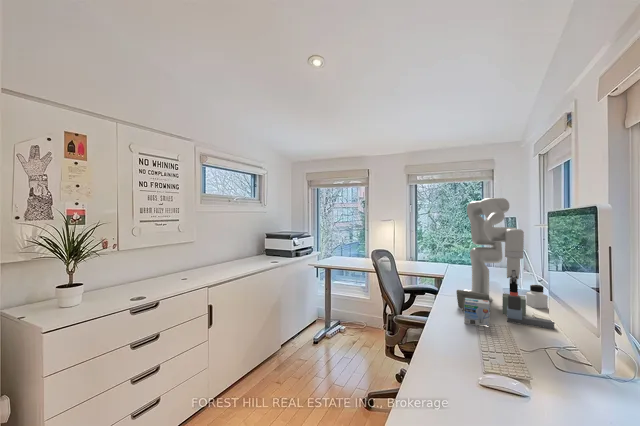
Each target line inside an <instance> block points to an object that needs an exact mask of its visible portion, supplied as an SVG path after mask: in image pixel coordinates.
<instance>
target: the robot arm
mask: <svg viewBox="0 0 640 426" xmlns="http://www.w3.org/2000/svg"><path fill="white" fill-rule="evenodd" d="M509 209H510V202H509V200H507V199H506V198H504V197H487V198H484V199H482V200H476V201H471V202H469V203H468V204H467V206H466V214H467V217H468V220H469V222H470V233H471V234H470V235H471V241H472V244H474V245H477V247H472V248H471V249H470V251H469V256H470V257H469V258H470V262H471V289H469V290H468V289H463V290H464V291H471V292H477V293H483V294H488V295H489V299H490V302H492V301H493V297H492V296H490V269H489V267H488V266H487V265H486V264H499V263H502V261H503V245H502V243H504V258H505V259H507V260H506V278H507V279H509V293H510V292H515V293H517V292H518V293H519V291H518V290H519V286H518V285H519V284H518V280H519V279H520V272H521V260H522V259H524V245H525V239H524V238H525V237H524V236H525V235H524V233H525V232H524V230H522V229H519V228H516V227H512V226H511V227H505V226H504V227H503V226H497V227H495V225H498V224H500V223H502V222H503V221H504V219H505V218H506V217H505V213H508V211H509ZM481 215H482V216H483V215H484V216H485V219H484V217H482V216H481ZM487 246H490V247H487Z"/></svg>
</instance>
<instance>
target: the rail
mask: <svg viewBox="0 0 640 426" xmlns="http://www.w3.org/2000/svg"><path fill="white" fill-rule="evenodd" d="M551 320H552V319H547V318H542V317H541V318H540V317H533V316H527V315H526V316H522V320H519V319H512V318H507V317H506V322H507V323H512V324H517V325H524V326H531V327H535V328H542V329H548V330H554V331H555V321H554V322H552V321H551Z"/></svg>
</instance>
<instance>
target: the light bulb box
mask: <svg viewBox="0 0 640 426" xmlns="http://www.w3.org/2000/svg"><path fill="white" fill-rule="evenodd" d="M490 310H491V302H490V303H489V301H487V300H478V299H470V298H465V305H464V311H463V313H464V315H463V318H464V319H463V321H464V324H466V325H472V326H477V325H487V326H489V327H490V320H491V319H490V315H491V311H490Z"/></svg>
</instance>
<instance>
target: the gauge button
mask: <svg viewBox="0 0 640 426" xmlns="http://www.w3.org/2000/svg"><path fill="white" fill-rule="evenodd" d="M509 294H510V296H518V295H519V291H518V292H517V293H515V292H510V291H509Z"/></svg>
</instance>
